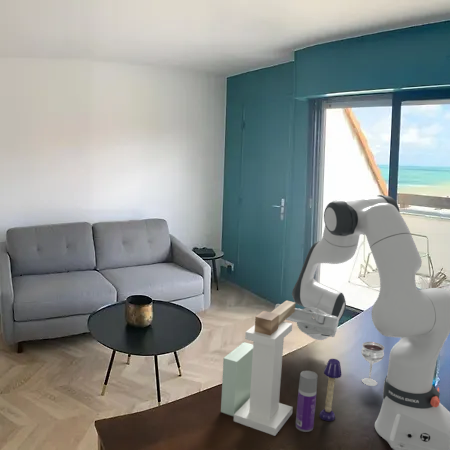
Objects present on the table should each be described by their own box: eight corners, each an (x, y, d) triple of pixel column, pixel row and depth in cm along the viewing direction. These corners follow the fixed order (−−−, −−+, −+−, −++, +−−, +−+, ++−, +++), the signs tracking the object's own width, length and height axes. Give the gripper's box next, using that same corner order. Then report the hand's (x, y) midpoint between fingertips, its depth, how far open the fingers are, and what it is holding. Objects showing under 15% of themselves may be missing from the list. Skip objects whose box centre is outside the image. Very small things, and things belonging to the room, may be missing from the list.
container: (313, 433, 135) (317, 380, 132) (294, 430, 136) (299, 377, 133) (313, 423, 139) (318, 371, 136) (296, 420, 140) (300, 369, 137)
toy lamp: (324, 410, 146) (329, 355, 142) (339, 416, 143) (345, 360, 140) (316, 417, 142) (321, 361, 138) (332, 423, 139) (338, 366, 136)
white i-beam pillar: (292, 413, 143) (299, 325, 138) (275, 435, 133) (282, 341, 127) (253, 400, 149) (258, 315, 143) (233, 421, 138) (238, 329, 133)
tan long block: (297, 312, 147) (298, 299, 146) (270, 335, 131) (271, 320, 130) (283, 309, 149) (284, 295, 148) (254, 331, 133) (255, 316, 132)
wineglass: (353, 380, 163) (357, 345, 160) (365, 374, 167) (369, 339, 165) (372, 389, 158) (377, 353, 155) (384, 382, 163) (389, 347, 160)
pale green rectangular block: (252, 396, 151) (256, 345, 148) (233, 416, 141) (236, 361, 137) (240, 392, 153) (243, 342, 149) (220, 411, 142) (223, 358, 139)
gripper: (283, 304, 174) (270, 295, 162) (343, 319, 164) (334, 310, 152) (278, 323, 172) (265, 314, 160) (339, 338, 163) (329, 331, 151)
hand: (299, 312), depth 156 cm, fingers open, 8 cm apart
